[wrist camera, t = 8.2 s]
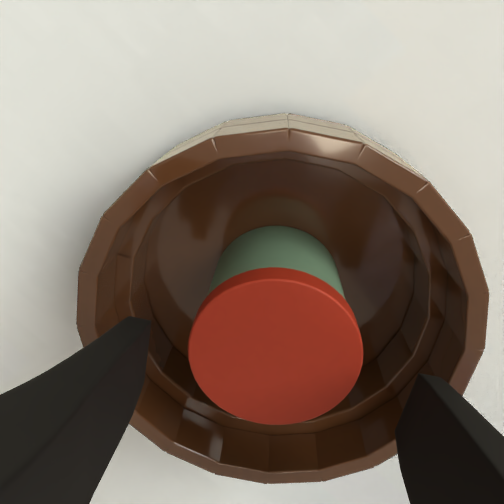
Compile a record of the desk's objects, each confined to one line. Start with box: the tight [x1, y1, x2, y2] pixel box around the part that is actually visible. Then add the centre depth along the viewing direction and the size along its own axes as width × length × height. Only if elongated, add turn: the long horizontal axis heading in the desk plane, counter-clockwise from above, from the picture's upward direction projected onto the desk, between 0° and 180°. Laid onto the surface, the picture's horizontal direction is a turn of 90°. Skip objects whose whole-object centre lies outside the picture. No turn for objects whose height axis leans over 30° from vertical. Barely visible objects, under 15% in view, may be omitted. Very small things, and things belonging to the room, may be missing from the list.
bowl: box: [76, 113, 489, 484], centre depth 15 cm, size 12×12×4 cm
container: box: [188, 226, 363, 425], centre depth 15 cm, size 5×5×5 cm
